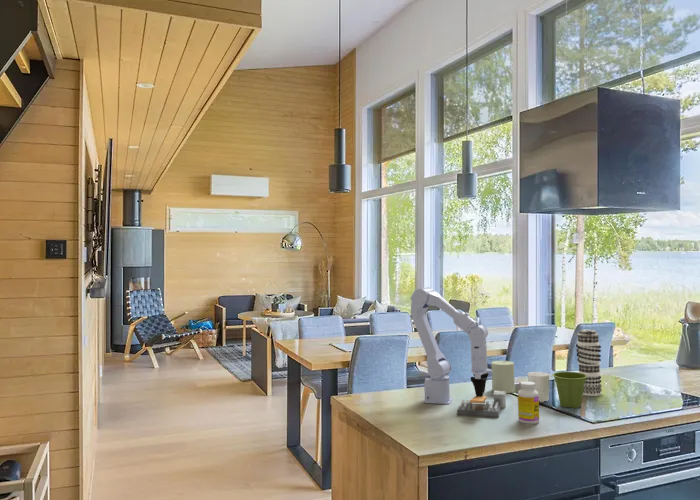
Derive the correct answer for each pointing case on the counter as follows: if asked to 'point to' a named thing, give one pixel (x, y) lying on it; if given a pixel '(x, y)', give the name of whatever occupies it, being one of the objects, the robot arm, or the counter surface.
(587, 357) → the decorative candle
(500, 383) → the can
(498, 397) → the block
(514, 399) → the counter surface
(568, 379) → the plant pot
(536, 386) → the white cup
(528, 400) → the supplement bottle
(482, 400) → the orange rectangular bar
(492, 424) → the counter surface
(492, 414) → the heatsink block
